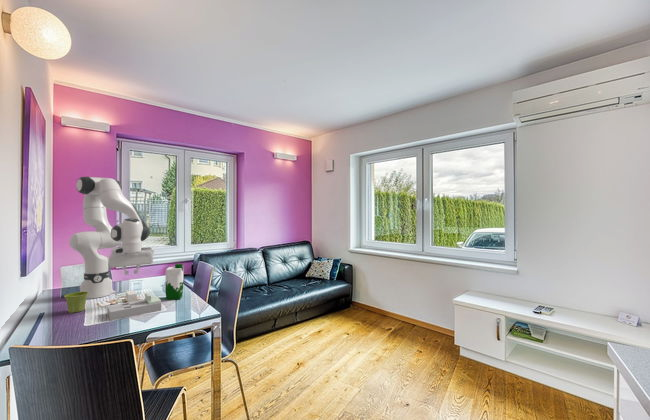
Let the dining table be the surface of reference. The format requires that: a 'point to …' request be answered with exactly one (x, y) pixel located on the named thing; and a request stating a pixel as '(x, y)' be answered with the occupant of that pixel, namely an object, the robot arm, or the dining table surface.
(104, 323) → the dining table surface
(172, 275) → the milk carton
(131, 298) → the plug
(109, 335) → the dining table surface
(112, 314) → the socket
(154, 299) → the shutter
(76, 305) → the plant pot
